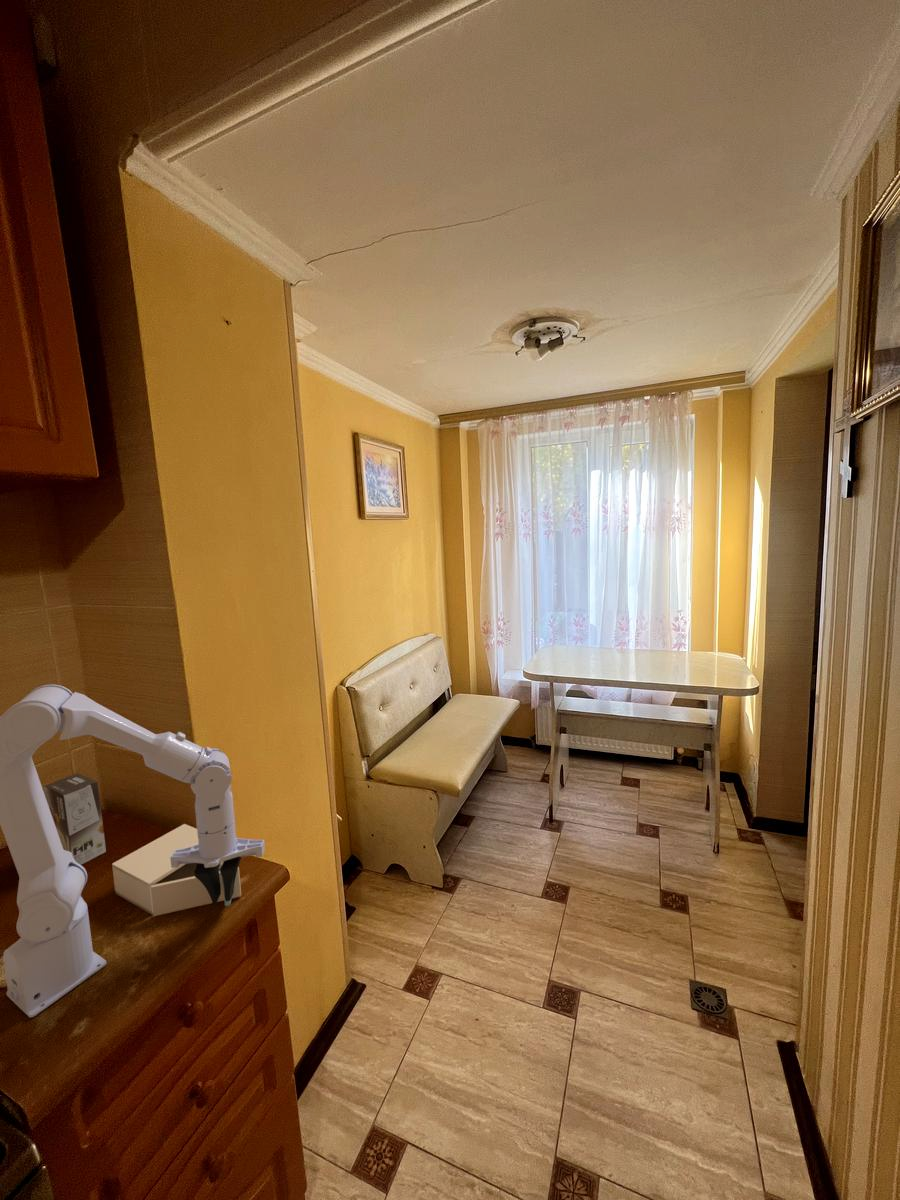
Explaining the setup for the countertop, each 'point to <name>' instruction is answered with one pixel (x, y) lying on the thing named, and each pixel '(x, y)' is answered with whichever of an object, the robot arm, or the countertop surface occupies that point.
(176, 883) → the flap
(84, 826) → the coffee box
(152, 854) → the carton
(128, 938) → the countertop surface
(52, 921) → the robot arm
